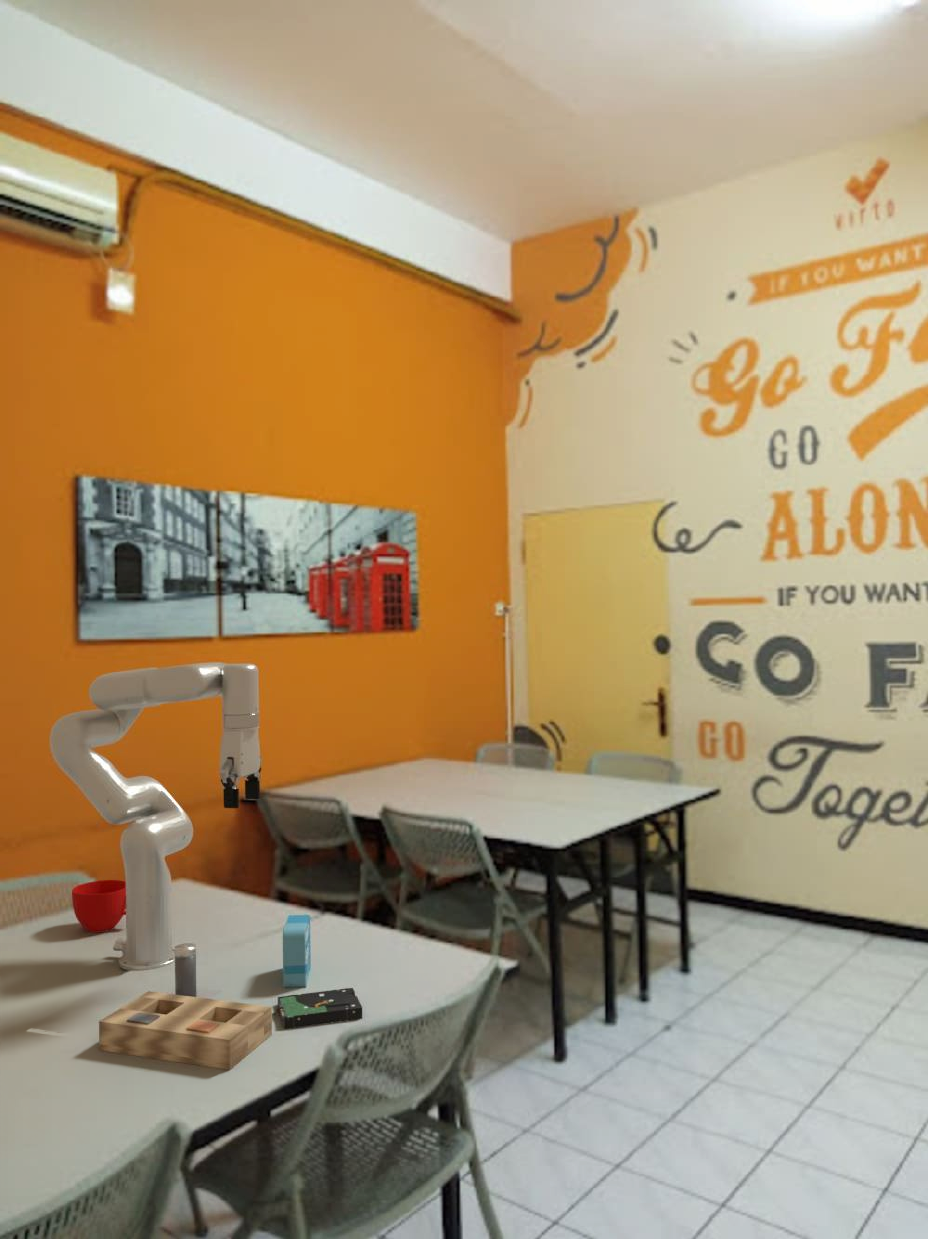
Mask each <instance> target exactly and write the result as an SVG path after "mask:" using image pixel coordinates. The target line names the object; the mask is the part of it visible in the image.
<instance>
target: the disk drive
mask: <svg viewBox="0 0 928 1239" xmlns="http://www.w3.org/2000/svg"><path fill="white" fill-rule="evenodd" d="M277 1010H279V1011H278V1014H279V1017H280V1023H281V1025H282V1029H283V1030H287V1029H296V1028H303V1027H309V1026H310V1027H311V1026H317V1025H324V1024H325V1023H326V1024H332V1023H331V1022H333V1023H340V1022H339V1021H341V1022H347V1021H346V1020H349V1021H356V1020H363V1006H362V1004H361V1002H360V999H359V998H358V996H357V995H356V993H355V989H354V988H353V987H349V988H348V987H345V988H340V989H332V990H324V991H323V990H322V991H316V992H307V993H301V994H298V993H297V994H289V995H285V996H284V995H283V996H282V995H281V996H277ZM326 1024H325V1025H326Z"/></svg>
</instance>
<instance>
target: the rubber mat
mask: <svg viewBox="0 0 928 1239" xmlns="http://www.w3.org/2000/svg"><path fill="white" fill-rule="evenodd" d="M221 992H223V990H220V989H213V988H206V987H205V988H204V987H197V986H196V997H198V998H206V999H212V998H214V997H215V996H217V995H218V994H220V993H221ZM166 993H167V994H175V987H174V988H172V989H170V990H169V991H168V992H166Z"/></svg>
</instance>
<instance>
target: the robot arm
mask: <svg viewBox="0 0 928 1239" xmlns="http://www.w3.org/2000/svg"><path fill="white" fill-rule="evenodd" d="M259 682H260V681H259V669H258V667H257V665H256V664H253V663H249V662H248V663H240V662H239V663H225V662H220V661H219V662H218V661H215V662H213V661H212V662H200V663H199V662H198V663H191V664H183V665H174V666H168V667H167V666H166V667H161V668H160V667H159V668H157V667H146V668H137V669H130V670H124V671H122V670H121V671H116V672H115V671H114V672H109V673H104V674H102V675H100V676H97V678H95V679H94V680H93V682H92V683H90V684H91V685H90V686H89V690H88V696H89V700H90V701H91V703H92V704H93V705H94V707H96V709H90V710H83V711H82V710H81V711H76V712H72V713H68V714H66V715H63V716H62V717H60V718H58V719H57V721H55V723H53V726H52V727H51V730H50V735H49V747H50V752H51V755H52V757H53V759H54V761H55V763H56V765H57V766H58V767H59V769H60V770H61V771H62V772H63V773H64V774H65V775H66V776H67V777H69V779H70V780H71V781H72V782H73V783H74V784H75V785H76V786H77V787H78V789H79V790H80V791H81V792H82V794H83V795H84V796H85V798H86V799H87V800H88V801H89V802H90V804H91V805H92V806H93V807H94V808H95V810H96V811H97V812H98V813H99V814H100V815H101V816H100V817H102V818H103V819H104V820H105V821H106V822H107V823H108V824H110V825H114V826H115V825H116V826H118V825H124V824H128V823H129V824H128V825H127V826H126V827H125V829H124V830H123V832H122V834H121V835H120V836H121V837H120V851H121V852H120V853H121V856H122V860H123V866H124V876H125V880H124V881H125V882H126V910H125V911H126V915H125V919H126V921H125V925H126V926H125V927H126V929H125V930H126V931H125V932H126V933H125V934H126V938H116V940H115V942H114V945H113V947H112V950H113V951H118V952H120V951H121V953H122V956H121V957H120V958H119V959H118V965H119V967H120V968H121V969H123V970H125V971H129V972H130V971H132V970H133V971H147V970H148V971H149V970H155V969H160V968H164V967H166V966H170V965H172V964H175V947H174V948H173V898H172V894H173V892H172V876H171V872H170V869H169V867H168V864H167V863H166V859H165V857H166V856H169V855H172V854H176V853H177V852H179V851H181V850H183V849H185V848H187V846H189V844H190V843H191V841H192V840H193V836H194V827H193V823H192V821H191V819H190V817H189V816H188V814H187V812H186V811H185V810H184V809H183V807H182V806H181V805H180V804H179V803H178V802H177V801H176V799H175V798H174V796H172V795H171V793H170V792H169V790H167V788H165V787H164V785H163V784H162V783H161V782H160V781H158V780H156V779H155V778H153V777H150V776H148V775H138V776H133V777H129V778H128V777H125V776H123V775H122V774H121V773H120V772H119V770H118V769H117V768H116V767H115V765H114V764H113V763H112V762H111V761H110V760H109V759H107V758H106V757H105V756H103V755H101V754H100V753H98V752H96V751H95V750H93V749H92V748H97V747H102V746H109V745H112V744H115V743H117V742H118V741H120V740H121V739H122V738H123V737H124V736H125V735H126V734H127V733H128V732H129V730H130V728H131V727H132V726H133V725H134V723H135V722H136V720H137V718H138V717H139V716H140V714H141V713H142V712H143V711H144V709H145V708H151V707H159V706H160V705H162V704H163V705H164V704H171V703H172V704H174V703H179V702H181V703H183V702H190V701H199V700H205V699H212V698H220V697H221V700H222V701H221V702H222V708H221V709H222V734H221V741H220V754H219V757H220V758H219V776H220V782H221V784H222V785H221V787H222V790H223V791H222V792H223V808H224V809H239V808H240V789H239V788H238V785H239V782H240V779H242V778H245V779H246V780H244V796H245V799H246V800H260V798H261V793H260V792H261V789H260V788H261V785H260V784H261V783H260V782H261V781H260V780H261V778H262V777H261V771H262V762H263V757H262V756H261V748H260V746H261V745H260V738H259V729H260V700H259V699H260V698H259V697H260V694H259V693H260V691H259V689H260V687H259Z"/></svg>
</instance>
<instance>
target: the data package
mask: <svg viewBox="0 0 928 1239" xmlns="http://www.w3.org/2000/svg"><path fill="white" fill-rule="evenodd" d="M311 955H312V954H311V915H310V914H293V915H292V914H291V915H287V918H286V922H285V925H284V928H283V931H282V981H283V982H282V986H283V988H301V987H302V988H306V987H307V983H308V979H309V975H310V971H311V965H312V964H311V962H312V961H311Z"/></svg>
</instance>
